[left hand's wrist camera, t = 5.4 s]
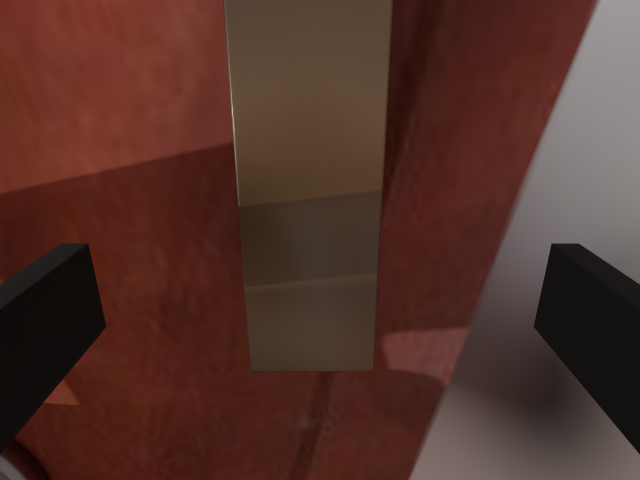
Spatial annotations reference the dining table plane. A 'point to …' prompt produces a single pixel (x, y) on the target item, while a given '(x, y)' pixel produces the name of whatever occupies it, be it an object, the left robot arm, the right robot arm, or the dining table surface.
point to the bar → (309, 175)
